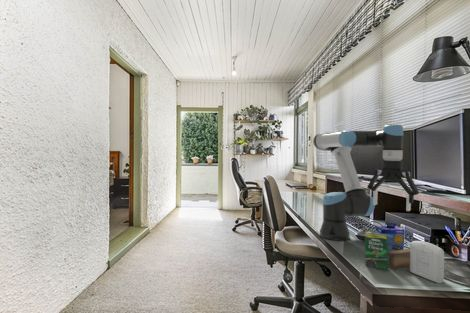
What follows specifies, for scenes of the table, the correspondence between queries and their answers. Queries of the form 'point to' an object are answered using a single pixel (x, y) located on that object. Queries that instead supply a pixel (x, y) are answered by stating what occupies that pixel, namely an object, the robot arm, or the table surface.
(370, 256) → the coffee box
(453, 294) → the table surface
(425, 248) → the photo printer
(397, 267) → the walnut fence board
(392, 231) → the ink cartridge box
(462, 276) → the table surface
